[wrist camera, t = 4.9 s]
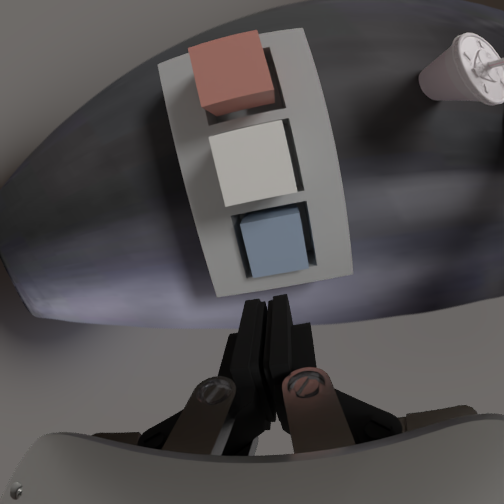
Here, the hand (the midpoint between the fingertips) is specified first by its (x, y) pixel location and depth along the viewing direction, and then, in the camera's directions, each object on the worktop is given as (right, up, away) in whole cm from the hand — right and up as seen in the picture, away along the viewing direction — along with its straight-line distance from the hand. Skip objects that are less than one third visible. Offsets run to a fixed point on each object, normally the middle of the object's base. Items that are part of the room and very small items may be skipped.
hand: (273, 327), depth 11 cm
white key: (0, +10, +9) cm, 13 cm away
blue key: (+1, +5, +14) cm, 15 cm away
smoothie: (+18, +21, +9) cm, 29 cm away
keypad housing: (0, +12, +14) cm, 18 cm away
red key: (-2, +16, +7) cm, 17 cm away
